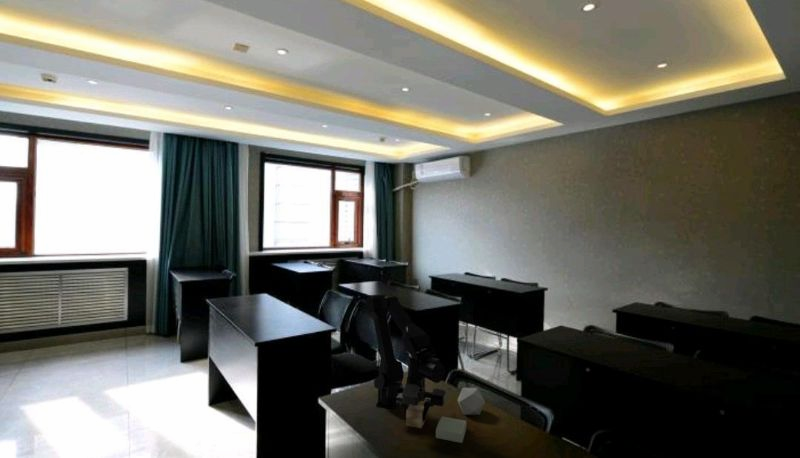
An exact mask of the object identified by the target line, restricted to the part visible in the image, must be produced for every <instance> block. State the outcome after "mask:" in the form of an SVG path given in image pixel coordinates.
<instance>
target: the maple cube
mask: <svg viewBox="0 0 800 458" xmlns="http://www.w3.org/2000/svg"><path fill="white" fill-rule="evenodd" d="M423 412H424V404H418V405H416V406H414V405H411V404H409V407H408V408H407V410H406V415H405V426H407V427H413V428H417V429H422V427H423V426H424V424H425V422H426V420H425V421H424V422H423Z"/></svg>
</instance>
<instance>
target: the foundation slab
mask: <svg viewBox="0 0 800 458" xmlns="http://www.w3.org/2000/svg"><path fill="white" fill-rule="evenodd" d="M466 431H467V420H464V419H459V418H452V417H447V416H441V417H440V419H439V421H438V423H437V426H436V428H435V438H436V439H441V440H445V441H446V440H447V441H451V442H454V443H455V442H456V443H461V444H463V442H464V438H465V435H466Z"/></svg>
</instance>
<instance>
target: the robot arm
mask: <svg viewBox="0 0 800 458" xmlns="http://www.w3.org/2000/svg"><path fill="white" fill-rule="evenodd" d="M364 304H365V305H364V306H365V308H366V310H367V314H368V315H369V316H370V317H371V318H372V320H373V323H374V328H375V335H376V339H377V345H378V351H379V355H380V363H379V364H378V365H379V366H378V368H377V369H378V376H377V377H376V378H375V379H374V380H373V385H374V388H376V389H377V402H376V403H375V406H376V407H379V408H386V409H391V410H393V409H394V408H395V407H396V405H398V404H399V403H400V404H401V406H402V408H403V412H404V416H406V410H407V408H408V407H409V405H410V404H411V405H414V406H416V405H419V403H421V402H424V403H423V405H424V412H423V422H424V421H425V422H426V418H427V415H428V412H429V410H430V408H431V407H434V406H438V407H443V406H444V404H445V403H446V401H447V392H446V390H444V389H439V388H434V389H433V391H426V388H427V386H426V380H429V381H431V382H433V383H435V384H438V383H440V382H442V381H443V379H444V378H445V376H446V368H445V366H444V365H443V364H442V363H441V359H439V358H436V357H434V356H436V352H435V349H434V347H433V344H432V342H431V340H430V336H429V335H428V334H427V333H426V331H425V330H424V329H423V327H420V326H418V325H416V324H415V323H414V322H413V320H412V318H411V317H410V316H409V315H408V313H407V312H406V310H405V309H404V308H403V306H402V304H401V303H400V301H399V298H398V296H395V295H390V296H389V295H386V294H385V293H380V294H378V293H377V294H372V295H371V294H369V295H368V296H367V297H366V299H365V300H364ZM388 315H389V316H391V319H392V320H393V321H394V323H395V324H396V326H397V327H398V329H399V331H400V332H401V335H402V342H403V344H404V347H405V349H406V351H405V352H404V353H403V354H404V356H407V359H408V360H407V362H408V363H407V376H406V383H405V386H404V384H403V379H404V376H405V375H404V374H405V372H404V368H403V363H402V361H401V360H398V359H397V358H396V356H395V352H394V347H393V343H392V337H391V332H390V327H389V321H388ZM425 422H424V423H425Z"/></svg>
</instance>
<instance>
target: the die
mask: <svg viewBox="0 0 800 458" xmlns="http://www.w3.org/2000/svg"><path fill="white" fill-rule="evenodd" d="M457 403H458V405H459V407H460V409H461V412H462V413H463V415H464V416H480V414H481V412H482V409H483V408H484V406H485V403H486V401H485V399H484V396H483V395H482V393H481V391H480V389H479V388H478V387H462V388H461V391H460V393H459V395H458V398H457Z"/></svg>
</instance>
